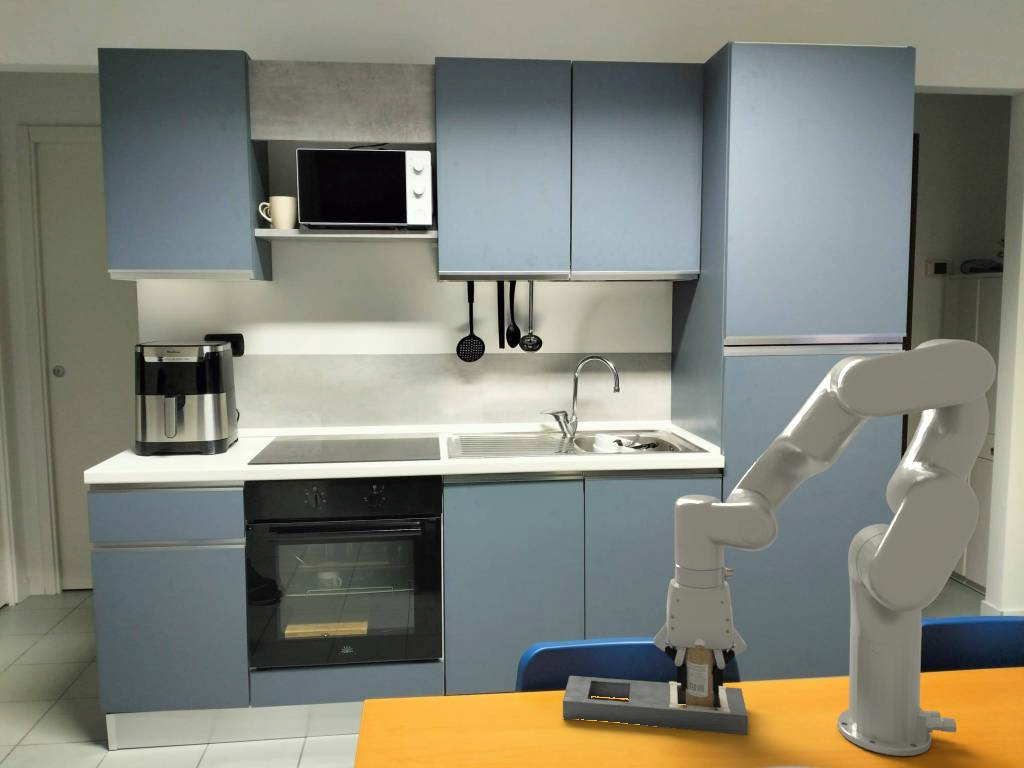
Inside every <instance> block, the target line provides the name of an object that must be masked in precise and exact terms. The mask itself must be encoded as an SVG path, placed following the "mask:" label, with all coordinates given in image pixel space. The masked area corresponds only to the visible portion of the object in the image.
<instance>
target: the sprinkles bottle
mask: <svg viewBox="0 0 1024 768" xmlns="http://www.w3.org/2000/svg"><path fill="white" fill-rule="evenodd" d="M695 645H699V646H695V648H686V651H685V656H684V661H685V665H686V705H691V706H703V707H714V701H713V699H714V697H713V693H714V673H713V662H714V650H709V649H705V648H704V646H701V645H705V643H704V641H703V640H702V639H697V640H696V642H695Z"/></svg>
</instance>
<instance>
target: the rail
mask: <svg viewBox="0 0 1024 768" xmlns="http://www.w3.org/2000/svg"><path fill="white" fill-rule="evenodd" d="M563 695H564V696H563V698H562V699H563V700H562V719H563V718H564V719H563V720H567V719H579V720H581V719H584V720H597V721H608V722H620V723H628V724H640V725H648V726H647V727H649V726H657V727H656V728H661V727H668V728H667V729H673V728H676V730H684V731H685V730H687V731H699V732H709V733H710V732H711V733H722V734H735V735H743V736H744V735H746V736H748V712H747V708H746V702H745V699H744V693H743V690H742V688H741V687H740V688H739V687H730V686H726V685H724V684H723V686H719V694H715V693H713V697H714V699H713V701H714V707H703V706H691V705H678V704H686V690H685V691H681V683H677V681H668V682H661V681H660V682H658V681H648V680H647V681H645V680H634V679H632V680H630V679H618V678H605V677H594V676H579V675H569V676H568V680H567V684H566V688H565V691H564V694H563ZM591 696H596V697H597V696H599V697H610V698H613V697H615V698H628V699H629V701H621V700H609V699H596V698H591ZM579 720H578V721H579Z"/></svg>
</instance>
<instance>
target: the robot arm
mask: <svg viewBox="0 0 1024 768" xmlns="http://www.w3.org/2000/svg"><path fill="white" fill-rule="evenodd" d="M996 373H997V367H996V363H995V360H994V358H993V356H992V354H991V353H990V352H989V351H988V350H987V349H986V348H984V347H983V346H982V345H981V344H978V343H977V342H974V341H970V340H967V339H952V338H951V339H950V338H937V339H936V338H935V339H930V340H927V341H924V342H922V343H920V344H919V345H918V346H916V347H915V348H913V349H911V350H905V351H900V352H894V353H889V354H882V355H874V356H865V355H864V356H863V355H852V356H848V357H845V358H843V359H841V360H840V361H838V362H837V363H836V364H834V366H833V367H831V369H830V370H829V371H828V372H827V373H826V375H825V376H824V378H823V379H822V380H821V382H819V384H818V385H817V386H816V388H815V390H813V392H812V393H811V395H810V396H809V397H808V398H807V400H806V401H805V403H804V404H803V405H802V406H801V408H800V409H798V412H797V413H796V414H795V415H794V416H793V418H792V419H791V420H790V421H789V423H788V424H787V425H786V427H785V428H784V429H783V430H782V432H780V434H779V435H778V436H777V437H775V439H774V440H773V441H772V443H771V444H770V445H769V446H768V447H767V449H766V450H764V452H763V453H762V454H761V455H760V456H759V457H758V458H757V459H756V461H754V463H753V464H752V465H751V466H750V468H748V470H747V471H746V473H745V474H744V475H743V476H742V478H741V479H740V480H739V482H738V483H737V484H736V486H735V487H734V488H733V489H732V491H731V492H730V494H729V495H728V497H727V498H726V501H725V502H722V501H721V500H720V498H717V497H715V496H712V495H706V494H687V495H683V496H681V497H678V498H677V500H676V501H675V504H674V514H673V515H674V522H673V523H674V578H671V579H670V580H669V585H668V591H667V599H666V615H665V617H666V618H665V620H666V621H665V623H664V624H663V626H662V627H661V628H660V630H659V631H658V632H657V633H656V635H655V636H654V637H653V645H654V646H656V647H657V648H659V650H661V651H663V652H664V654H666V655H667V656H668V657H669V658H670V659H671V660H672V662H674V665H675V667H676V673H675V675H676V682H677V683H681V691H685V690H686V665H685V656H686V648H695V646H699V645H695V642H696V640H697V639H702V640H703V641H704V643H705V645H701V646H704V648H705V649H709V650H713V655H714V657H715V658H713V673H714V693H715V694H719V686H723V685H724V669H725V667H726V666H727V664H729V663H730V662H731V661H732V660H733V659H735V657H736V656H738V655H740V654H741V653H743V652H745V651H746V650H747V643H746V642H745V640H743V637H741V635H740V634H739V632H738V631H737V630H736V628H735V627H734V621H733V605H732V598H731V590H730V585H729V583H728V581H727V579H729V578H730V579H732V578H734V577H735V575H734V574H735V572H734V568H729V567H726V566H725V547H726V548H731V549H736V550H742V551H746V552H748V551H749V552H758V551H762V550H765V549H767V548H769V547H770V546H772V544H773V543H775V541H776V539H777V536H778V532H779V524H778V523H779V522H778V520H777V517H776V513H777V511H778V510H779V509H780V508H781V506H782V505H783V504H784V502H786V501H787V499H788V498H789V497H790V496H791V495H792V493H793V492H794V491H795V490H796V489H797V488H798V487H799V486H800V485H802V484H803V483H804V482H805V481H806V480H809V478H811V477H813V476H815V475H819V474H821V473H823V472H824V471H826V470H828V469H829V468H830V467H831V466H833V465H834V464H835V463H836V462H837V460H838V459H839V458H840V456H841V455H842V454H843V452H844V451H845V450H846V448H847V447H848V446H849V444H850V443H851V442H852V441H853V439H855V437H856V436H857V434H858V433H860V431H861V430H862V429H863V427H864V426H865V425H866V424H867V422H868V421H869V420H870V419H878V418H889V417H896V416H902V415H903V416H904V415H909V414H914V413H919V412H921V415H920V416H921V417H920V420H919V423H918V424H917V428H916V430H915V432H914V435H913V437H912V438H911V441H910V443H909V444H908V447H907V448H906V450H905V452H904V455H903V456H902V458H901V460H900V461H899V464H898V465H897V467H896V469H895V471H894V473H893V474H892V476H891V478H890V479H889V481H888V484H887V486H886V491H885V498H886V503H887V505H888V507H889V508H890V510H891V511H892V513H893V514H894V515H893V518H892V519H891V522H890V523H889V524H887V523H875V524H871V525H868V526H865V527H863V528H862V529H861V530H859V531H858V532H857V533H856V534H855V536H854V537H853V538H852V540H851V542H850V545H849V549H848V554H847V568H848V569H847V571H848V580H849V581H848V582H849V597H850V599H849V600H850V601H849V602H850V623H849V625H850V626H849V678H848V679H849V682H848V683H849V684H848V685H849V687H848V689H849V693H848V709H845V710H844V711H841V713H840V714H839V715H838V718H837V728H838V731H839V732H840V734H841V735H842V736H843V737H844V738H845V739H847V740H848V741H849V742H851V743H853V744H855V745H857V746H858V747H861V748H863V749H865V750H868V751H871V752H875V753H876V754H877V753H879V754H882V755H889V756H895V757H896V756H897V757H907V756H908V757H910V756H916V755H917V756H918V755H920V754H923V753H925V752H927V751H928V750H929V749H930V747H931V746H932V735H931V734H932V733H933V732H934V731H940V732H946V733H956V732H957V723H956V720H955V718H953V717H941V713H940V711H937V710H923V708H922V707H921V706H920V705H921V664H922V662H921V661H922V660H921V659H922V658H921V657H922V653H921V652H922V635H923V633H922V629H923V628H922V627H923V626H922V625H923V623H922V610H923V609H925V608H926V607H928V606H929V605H930V604H932V603H933V602H935V600H936V599H937V597H938V596H939V595H940V593H941V592H942V591H943V589H944V588H945V586H946V583H947V582H948V580H949V579H950V577H951V575H952V573H953V572H954V569H955V568H956V567H957V565H958V563H959V561H960V559H961V557H962V555H963V554H964V551H965V550H966V548H967V546H968V544H969V542H970V540H971V538H972V536H973V534H974V532H975V531H976V528H977V524H978V520H979V513H980V505H979V504H980V503H979V500H978V497H977V495H976V493H975V490H974V489H973V488H972V486H971V485H970V484H969V483H968V482H967V480H968V478H969V477H970V475H971V472H972V470H973V468H974V466H975V464H976V461H977V460H978V456H979V454H980V453H981V450H982V448H983V446H984V443H985V441H986V438H987V435H988V431H989V425H990V412H989V405H988V399H987V397H986V393H987V392H988V391H989V390H990V389H991V387H992V385H993V384H994V381H995V380H996ZM666 639H667V640H666ZM733 643H734V644H733Z"/></svg>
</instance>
